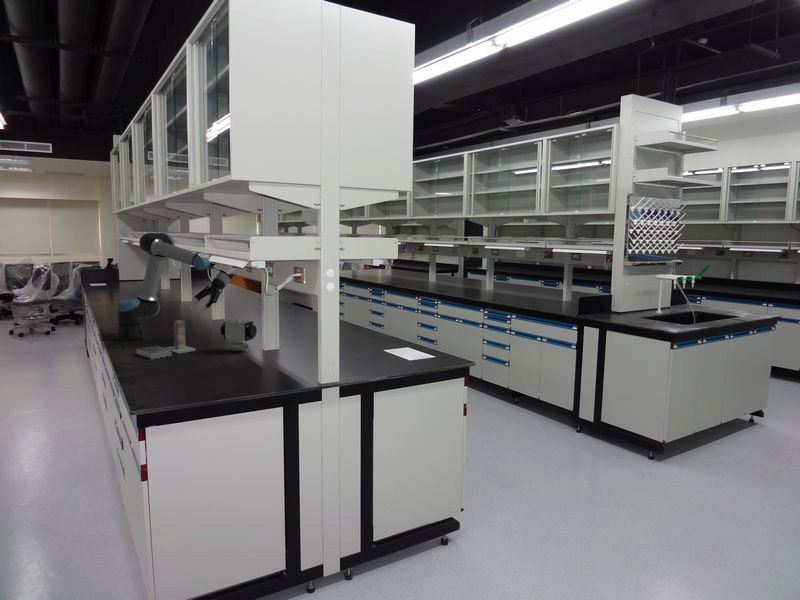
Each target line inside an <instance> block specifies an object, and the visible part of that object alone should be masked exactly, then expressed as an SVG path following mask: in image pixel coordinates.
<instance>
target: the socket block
mask: <svg viewBox="0 0 800 600" xmlns="http://www.w3.org/2000/svg"><path fill="white" fill-rule="evenodd" d="M165 348H166V347H162V346H159V345H154V346H147V347H140V348H136V355H137V354H138V355H137V356H140V355H141V356H140V357H143V356H144V357H143V358H145V357H147V358H146V359H148V358H150V359H149V360H155V359H154V358H157V359H161V358H160V357H163V358H166V356H169V357H172V352H171V350H169V349H165Z"/></svg>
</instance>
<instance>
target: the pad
mask: <svg viewBox="0 0 800 600" xmlns="http://www.w3.org/2000/svg"><path fill="white" fill-rule="evenodd" d="M164 348H165V349H169V350H171V351H172V352H171V353H174V352H175V354H177V353H178V354H184V353H189V352H195V350H196V348H195V347H190V346H187V345H186V348H184V349H175V345H174V346H168V347H167V346H166V347H164ZM196 351H197V350H196Z"/></svg>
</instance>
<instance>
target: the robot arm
mask: <svg viewBox="0 0 800 600" xmlns="http://www.w3.org/2000/svg"><path fill="white" fill-rule="evenodd" d="M138 243H139V244H138V245H139V247H140V248H141V251H143V252H145V253H146V254H147V255H148V260H147V264H146V270H145V273H144V278H143V283H142V287H141V291H140V293H138V294H137V297H136V298H126V299H122V300H120V301H118V302H117V307H116V309H117V323H118V325H117V326H118V327H117V331H116V334H115V340H116V341H117V342H133V341H134V340H135V341H140V339H141V340H144V339H145V333H144V330H143V328H142V325H141V320H145V319H149V318H150V319H151V318H152V317H155V316H157V315H158V313H159V312H160V311H161V310H160V309H161V304H160V302H159V301H158V300H159V298H158V296H157V294H158V290H159V285H160V281H161V277H162V276H161V275H162V273H163V267H164V264H165V260H166V259H171V260H174V261H177V262H180V263H183V264H186V265H190V266H192V267H194V268H195V269H196V270H199V271H200V270H201V271H204V270H215V268H214V267H213V266H214V265H215V264H212V263H209V262H208V260H207V259H205V258H202V257H200V256H198V254H199V253H198V254H196V253H197V252H195V253H193V252H194V251H192V252H191V250H188V249H185V248H182V247H179V246H177V245H175V243H176V242H175V240H174V238H173V236H171V235H170V234H168V233H164V232H146V233H144V234H143V235H141V237H140V238H139V241H138ZM216 270H218V269H216ZM218 271H219V272H218V273H217V275H216V276H215V278H213V279H212V280H211V282H210V286H209V285H206V287H204V288H203V289H201V290H200V291H199V292H198V293H197V294H195V295H194V300H193V301H192V302H191V303H190V304H188V308H189V309H190V311H193V309H194V308H195V307H196V306H197V305H198V303H200V302H201V300H203V299H204V298H206V297H207V296H210V297H209V299H208V300H207V301H206V303H205V304H204V305H203V306H202V307H201V308H200V311H201V312H202V313H204V314H205V313H206V312H207V311H208V309H209V308H210V307H211V306H212V305H213V304H216V303H217V302H218V300H219V298H220V296H221V294H222V292H223V290H224V289H225V288H226V286H227V285H228V284H229V283H230V281H231V280H232V279H233V278H234V276H236V274H235V275H233V274H229V275H228V274H226V272H224V271H222V270H218ZM135 341H134V342H135Z"/></svg>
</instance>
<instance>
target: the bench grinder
mask: <svg viewBox="0 0 800 600" xmlns="http://www.w3.org/2000/svg"><path fill="white" fill-rule="evenodd" d="M257 332H258V330H257V326H256V325H255V324H254V321H251V320H241V319H240V318H238V317H237V318H236V319H235V320H233V319H230V320H226V321H223V323H222V324H221V326H220V331H219V333H220V334H221V336H223V340H225V341H226V340H229V341H233V342H231V343H230V344H229V349H230V350H231V351H234V352H246V351H248V350H249V345H248V343H246V342H248V341H251V340H254V339H255V337H256V335H257Z"/></svg>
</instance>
